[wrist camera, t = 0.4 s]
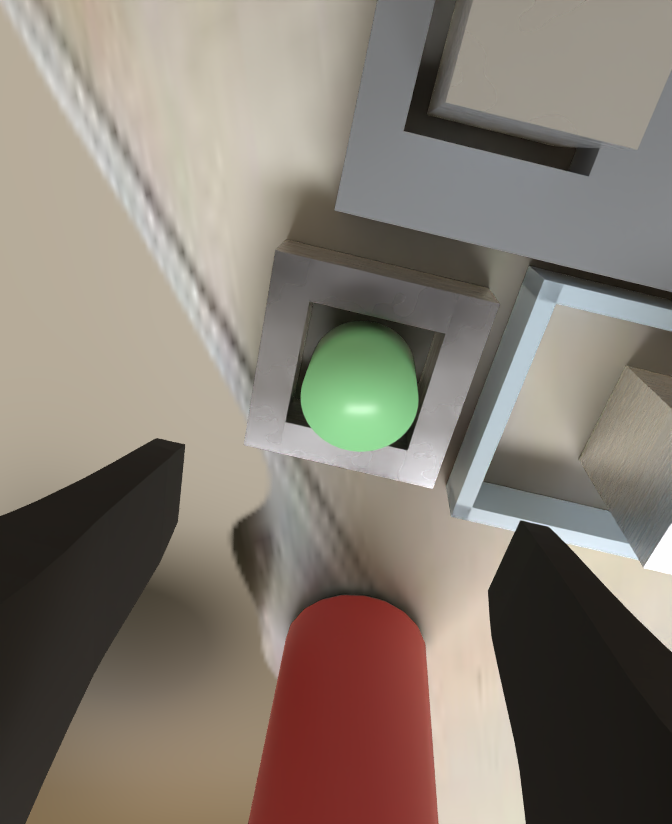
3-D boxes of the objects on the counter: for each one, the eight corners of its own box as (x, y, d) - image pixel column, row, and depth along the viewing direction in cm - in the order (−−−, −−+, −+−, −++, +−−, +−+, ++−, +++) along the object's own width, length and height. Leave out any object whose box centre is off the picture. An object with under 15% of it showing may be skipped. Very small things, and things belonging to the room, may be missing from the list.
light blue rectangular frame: (905, 356, 18) (961, 380, 16) (754, 557, 22) (786, 594, 21) (529, 265, 18) (544, 279, 16) (446, 486, 22) (450, 516, 20)
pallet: (1060, -66, 13) (1163, -98, 12) (814, 318, 18) (861, 337, 16) (429, -230, 13) (436, -288, 11) (340, 203, 18) (334, 210, 16)
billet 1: (614, -16, 15) (746, -107, 9) (556, 146, 16) (637, 149, 11) (470, -53, 15) (517, -166, 9) (426, 114, 16) (445, 102, 11)
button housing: (489, 287, 18) (500, 304, 17) (429, 459, 22) (432, 489, 20) (286, 239, 18) (275, 250, 17) (255, 419, 21) (243, 444, 20)
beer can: (284, 673, 28) (219, 1006, 17) (292, 577, 25) (220, 905, 14) (412, 692, 28) (427, 1040, 17) (436, 597, 25) (473, 945, 14)
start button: (427, 334, 18) (433, 360, 16) (399, 427, 20) (400, 462, 18) (322, 309, 18) (312, 332, 16) (301, 405, 20) (291, 437, 18)
